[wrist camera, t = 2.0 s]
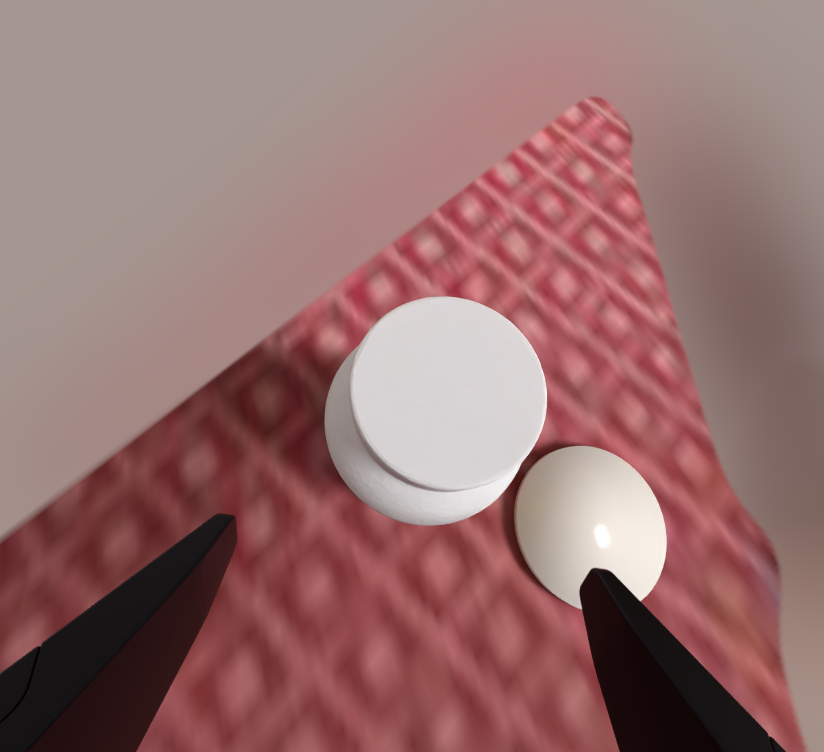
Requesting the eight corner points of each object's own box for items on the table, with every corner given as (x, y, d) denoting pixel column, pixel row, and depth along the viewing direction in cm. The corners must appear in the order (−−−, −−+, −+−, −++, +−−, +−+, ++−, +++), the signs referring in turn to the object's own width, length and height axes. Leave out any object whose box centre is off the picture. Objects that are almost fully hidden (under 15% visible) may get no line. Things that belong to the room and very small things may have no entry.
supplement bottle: (319, 449, 20) (234, 377, 8) (403, 370, 22) (440, 215, 10) (405, 540, 19) (462, 620, 7) (485, 449, 21) (640, 385, 9)
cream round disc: (555, 638, 18) (561, 642, 18) (489, 475, 20) (493, 475, 20) (686, 571, 20) (695, 573, 19) (612, 428, 22) (618, 426, 21)
